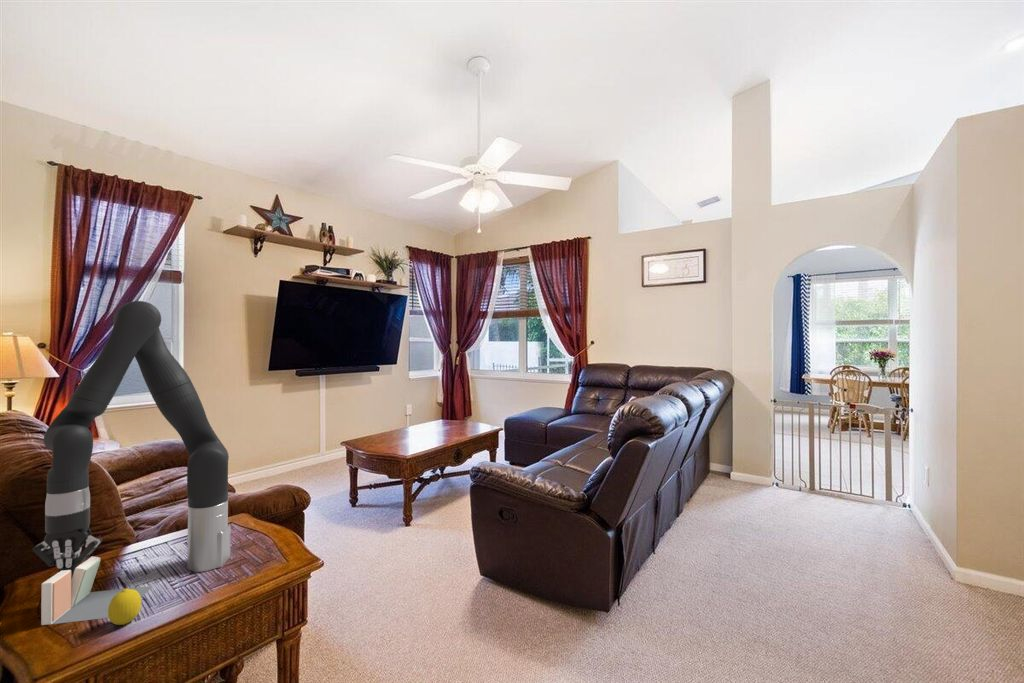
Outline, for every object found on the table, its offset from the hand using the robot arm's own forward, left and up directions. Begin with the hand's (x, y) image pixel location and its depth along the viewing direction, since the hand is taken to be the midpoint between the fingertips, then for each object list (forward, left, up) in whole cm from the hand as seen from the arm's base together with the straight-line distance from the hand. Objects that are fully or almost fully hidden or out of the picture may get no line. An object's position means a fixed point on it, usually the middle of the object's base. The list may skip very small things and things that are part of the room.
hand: (68, 581), depth 105 cm
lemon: (-18, +12, -6) cm, 22 cm away
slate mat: (-8, +3, -5) cm, 10 cm away
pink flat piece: (-2, +6, -5) cm, 8 cm away
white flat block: (-2, 0, -5) cm, 5 cm away
